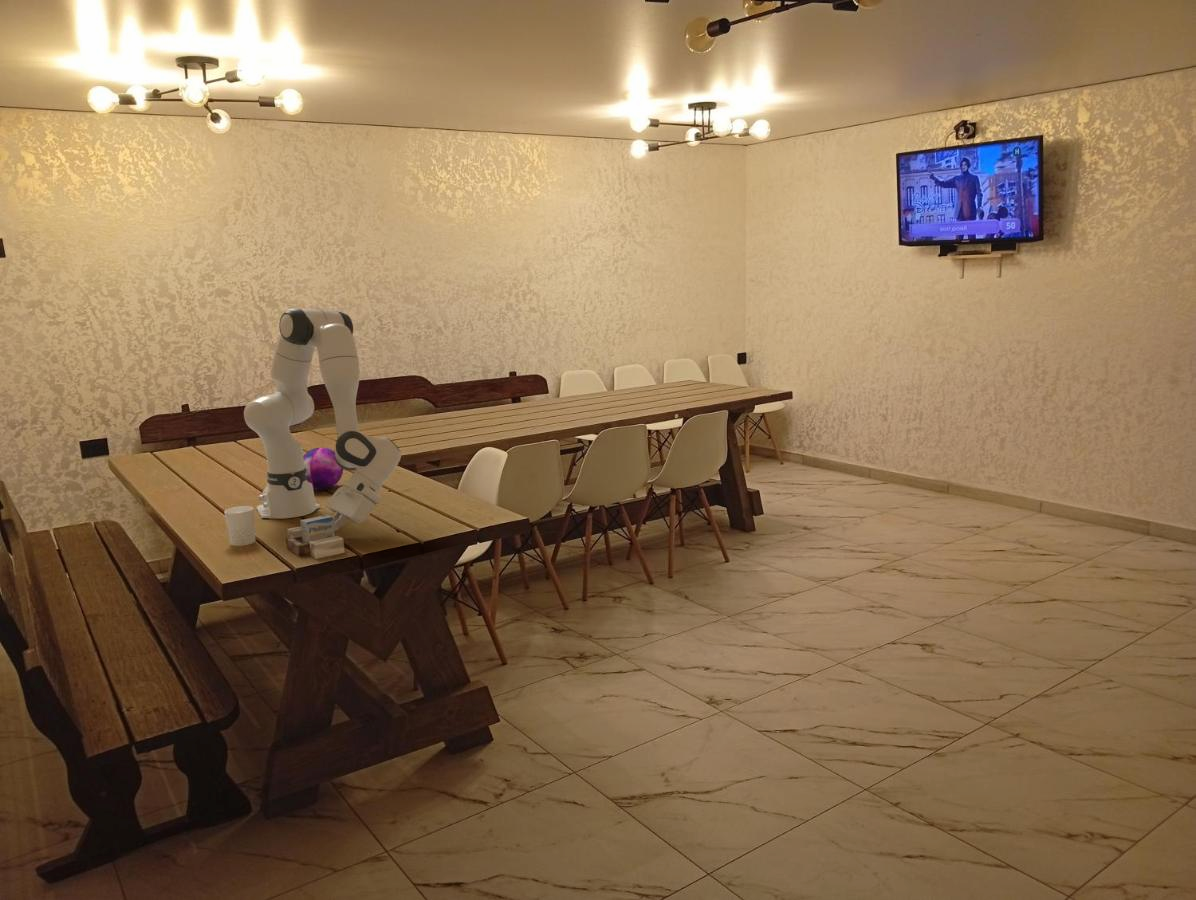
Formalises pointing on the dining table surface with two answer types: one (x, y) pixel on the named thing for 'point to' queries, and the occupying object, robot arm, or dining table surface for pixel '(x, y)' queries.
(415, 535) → the dining table surface
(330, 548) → the wooden tray
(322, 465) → the decorative orb
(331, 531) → the medicine box
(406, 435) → the dining table surface
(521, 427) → the dining table surface
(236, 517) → the white cup
